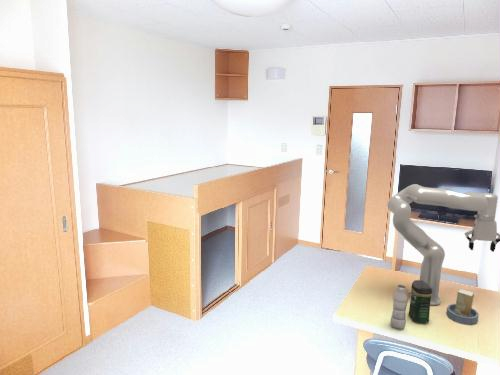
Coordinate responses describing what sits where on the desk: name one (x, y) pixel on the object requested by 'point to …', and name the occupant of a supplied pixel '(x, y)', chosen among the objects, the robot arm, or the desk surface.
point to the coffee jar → (420, 301)
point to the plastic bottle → (399, 307)
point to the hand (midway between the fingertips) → (481, 250)
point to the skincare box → (464, 303)
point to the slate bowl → (460, 319)
